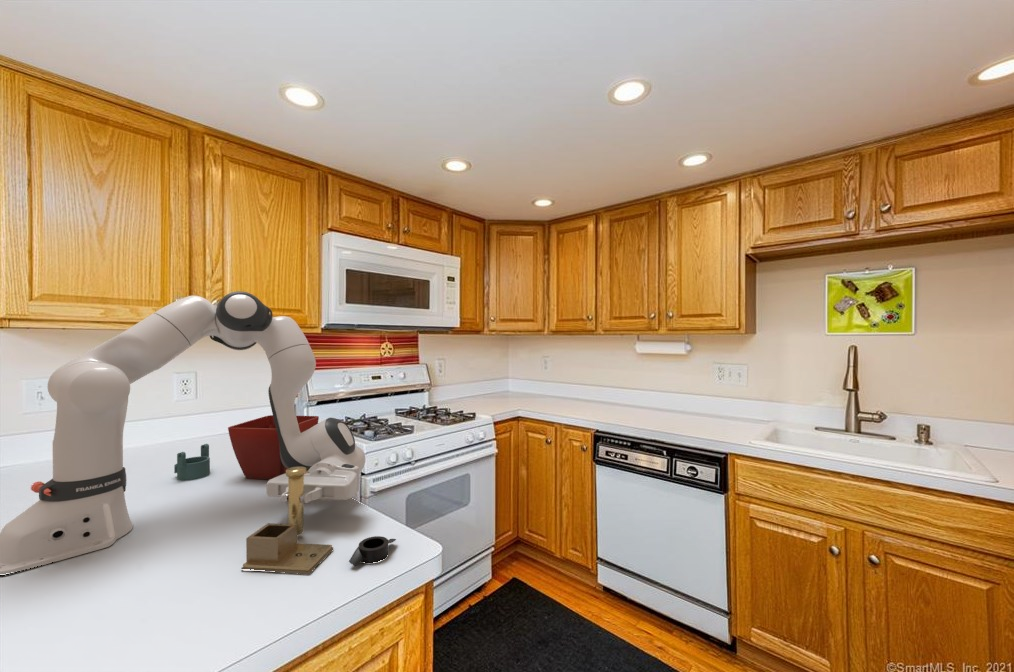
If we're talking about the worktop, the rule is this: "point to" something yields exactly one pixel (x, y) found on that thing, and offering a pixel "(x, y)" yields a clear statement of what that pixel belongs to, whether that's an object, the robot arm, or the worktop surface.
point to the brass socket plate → (282, 550)
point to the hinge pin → (295, 496)
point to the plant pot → (262, 446)
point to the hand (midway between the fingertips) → (293, 499)
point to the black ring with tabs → (371, 550)
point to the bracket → (193, 465)
